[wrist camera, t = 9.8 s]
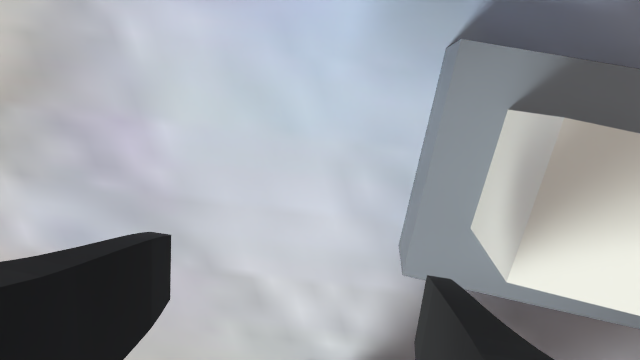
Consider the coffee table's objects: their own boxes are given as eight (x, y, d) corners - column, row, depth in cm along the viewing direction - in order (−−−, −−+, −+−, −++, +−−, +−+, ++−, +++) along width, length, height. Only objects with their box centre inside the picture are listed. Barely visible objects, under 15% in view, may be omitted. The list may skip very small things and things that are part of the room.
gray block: (592, 285, 21) (642, 329, 17) (398, 242, 22) (402, 275, 18) (666, 87, 18) (742, 86, 15) (444, 49, 19) (461, 39, 16)
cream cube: (593, 257, 17) (682, 326, 12) (470, 228, 17) (506, 282, 12) (641, 138, 15) (762, 159, 11) (507, 109, 16) (564, 117, 11)
